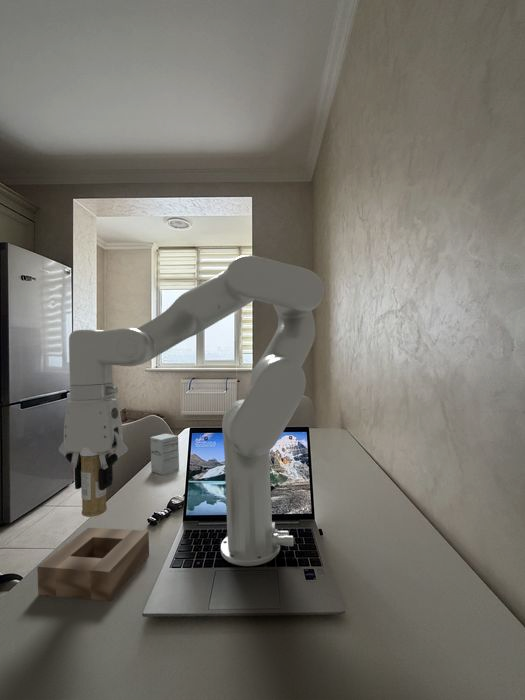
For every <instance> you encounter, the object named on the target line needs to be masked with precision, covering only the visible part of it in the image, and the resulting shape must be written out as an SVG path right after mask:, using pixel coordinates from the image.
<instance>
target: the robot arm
mask: <svg viewBox="0 0 525 700" xmlns="http://www.w3.org/2000/svg"><path fill="white" fill-rule="evenodd" d="M324 295H325V286H324V283H323V281H322V278H320V276H319V275H318V274H317V273H315V272H314V271H312V270H311V269H308V268H306V267H305V268H304V267H302V266H298V265H294V264H290V263H284V262H281V261H278V260H275V259H271V258H270V259H269V258H266V257H260V256H257V255H251V254H250V255H247V254H246V255H240V256H238V257H235V259H233V260H231V262H230V263H229V264H228V267H227V269H225V270H224V271H222V272H220V273H218V274H217V275H214V276H213V277H212V278H209V279H208V280H205V281H204V282H202V283H200V284H199V285H197V286H195V287H193V288H191V289H189V290H188V291H186V292H184V293H182V294H181V295H180V296H179V297H177V299H175V301H174V302H173V303H172V304H171V305H170V306H169V307H168V308H167V309H166V310H165V311H163V312H162V313H160V314H159V315H158V316H157V317H154V318H153V319H151V320H149V321H148V322H146V323H144V324H143V325H140V326H139V327H137V328H134V327H123V328H116V329H110V330H109V329H108V330H103V329H102V330H101V329H78V330H73V331H72V332H71V333H70V334H69V337H68V358H69V359H68V360H69V362H68V363H69V365H68V367H69V400H68V401H67V404H66V407H65V414H64V425H63V441H62V442H61V444H60V445H59V447H58V452H59V453H60V454H62V455H63V457H65V458H66V460H67V461H68V462H69V463H70V467H71V468H72V469H74V471H73V472H74V473H73V476H74V489H75V490H79V489H81V455H80V452H81V451H82V449H83V448H85V447H86V448H89V450H90V451H91V452H93V453H98V454H99V459H100V463H101V467H102V468H101V469H99V489H100V490H104V489H106V490H107V489H108V488H109V487H111V485H112V484H113V480H114V479H113V478H114V477H113V473H114V472H113V466H114V465H115V464H116V462H117V461H118V459H120V458H121V457H122V456H124V455H125V454H126V453H127V452H128V451H129V448H128V446H127V444H125V442H124V435H123V423H122V415H121V411H120V406H119V402H118V399H117V398H114V395H117V394H118V391H119V388H118V387H117V386H114V383H113V366H121V367H136V366H142V365H143V364H146V363H147V362H150V361H151V360H153V359H155V358H156V357H158V356H160V355H161V354H163V353H165V352H166V351H168V350H171V349H172V348H173V347H175V346H177V345H178V344H180V343H182V342H184V341H185V340H187V339H189V338H192V337H193V336H197V335H198V334H200V333H202V332H203V331H205V330H206V329H208V328H209V327H211V326H213V325H215V324H216V323H218V322H220V321H221V320H223V319H225V318H227V317H229V316H230V315H232V314H234V313H235V312H237V311H239V310H240V309H243V308H244V307H245V306H247V305H249V304H250V303H252V302H254V301H258V302H261V303H266V304H270V305H273V308H274V311H275V312H276V314H277V318H278V319H277V321H278V324H277V328H276V331H275V333H274V335H273V337H272V338H271V341H270V343H269V344H268V346H267V348H266V349H265V350H264V352H263V354H262V356H261V357H260V358H259V360H258V362H256V365H254V367H253V369H252V372H251V375H250V386H251V388H250V390H249V391H248V394H247V395H246V396H245V399H244V398H243V399H238V400H236V401H234V402H232V403H231V404H230V405H229V406H227V408H226V410H225V412H224V414H223V417H222V422H221V425H222V427H221V428H222V439H223V442H222V443H223V453H224V469H225V470H224V473H225V478H224V479H225V502H226V503H225V504H226V528H227V529H226V531H227V533H226V534H227V536H225V538H224V539H223V540H222V541H221V544H220V554H221V556H222V558H223V559H224V560H225V561H227V563H230V564H232V565H236V566H242V567H253V566H254V567H255V566H259V565H263V564H265V563H269V562H270V561H272V560H273V559H275V558H276V557H277V555H278V554H279V553H280V550H281V546H284V547H294V535H289V534H290V533H289V530H278V528H276V522H275V521H273V520H272V515H273V514H272V495H271V493H272V492H271V462H270V460H271V459H270V451H271V450H272V449H273V448H274V446H276V444H277V442H278V441H279V439H280V437H281V436H282V434H283V432H284V431H285V429H286V427H287V426H288V424H289V422H290V421H291V419H292V417H293V415H294V413H295V412H296V409H297V408H298V407H299V405H300V404H301V403H300V402H301V401H302V399H303V397H304V394H305V390H306V384H307V379H306V378H307V377H306V375H305V371H304V370H303V368H302V367H303V365H304V362H305V360H306V359H307V357H308V355H309V353H310V351H311V348H312V347H313V344H314V341H315V337H316V322H315V319H314V314H313V310H314V309H316V308H317V307H319V305H320V304H321V303H322V301H323V299H324ZM113 449H116V450H115V452H114V450H113Z"/></svg>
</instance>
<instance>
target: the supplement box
mask: <svg viewBox="0 0 525 700" xmlns="http://www.w3.org/2000/svg"><path fill="white" fill-rule="evenodd" d="M179 447H180V446H179V435H175V434H171V433H161V434H158V435H153V436H150V464H151V465H150V468H151V469H150V471H151V472H152V473H156V474H158V475H161V476H165V475H169V474H172V473H175V472H177V471H179V470H180V460H179V459H180V453H179V449H180V448H179Z"/></svg>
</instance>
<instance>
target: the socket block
mask: <svg viewBox="0 0 525 700" xmlns="http://www.w3.org/2000/svg"><path fill="white" fill-rule="evenodd" d="M149 540H150V537H149V530H146V529H145V530H143V529H140V530H139V529H123V528H121V529H120V528H106V527H105V528H104V527H103V528H101V527H99V528H98V527H87V528H86V529H85V530H83V531H82V532H81V533H80V534H78V535H77V536H75V537H74V538H73V539H72V540H70V541H69V542H68V543H66V544H65V545H63V547H61V548H60V549H58V551H56V552H54V553H53V554H52V555H50V557H48V558H47V559H46V560H44V561H43V562H41V563H40V564H39V565H38V566H37V567H36V568H37V571H36V572H37V591H38V593H37V595H38V594H39V595H38V596H46V595H49V596H48V597H58V598H59V597H60V598H72V599H80V600H81V599H82V600H95V601H107V602H111V600H112V599H113V598H114V597H115V596H116V595H117V593H118V592H119V591H120V590H121V589H122V588H123V586H124V585H125V584H126V583H127V582H128V580H130V578H131V577H132V576H133V575H134V573H135V572H136V571H137V570H138V569H139V567H141V565H142V564H143V563H144V561H145V560H146V559H147V558H148V557H149V555H150V541H149Z"/></svg>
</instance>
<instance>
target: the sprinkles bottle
mask: <svg viewBox="0 0 525 700" xmlns="http://www.w3.org/2000/svg"><path fill="white" fill-rule="evenodd" d="M80 455H81V488H80V489H81V501H82V502H81V508H82V509H81V515H82V516H83V517H87V518H91V517H98V516H100V515H102V514H104V513H105V512H106V511H107V510H108V506H107V488H106V489H104V490H100V489H99V469H101V468H102V467H101V463H100V459H99V454H98V453H93V452H91V451H90V450H89V448H86V447H85V448H83V449H82V451H81V452H80Z"/></svg>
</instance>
